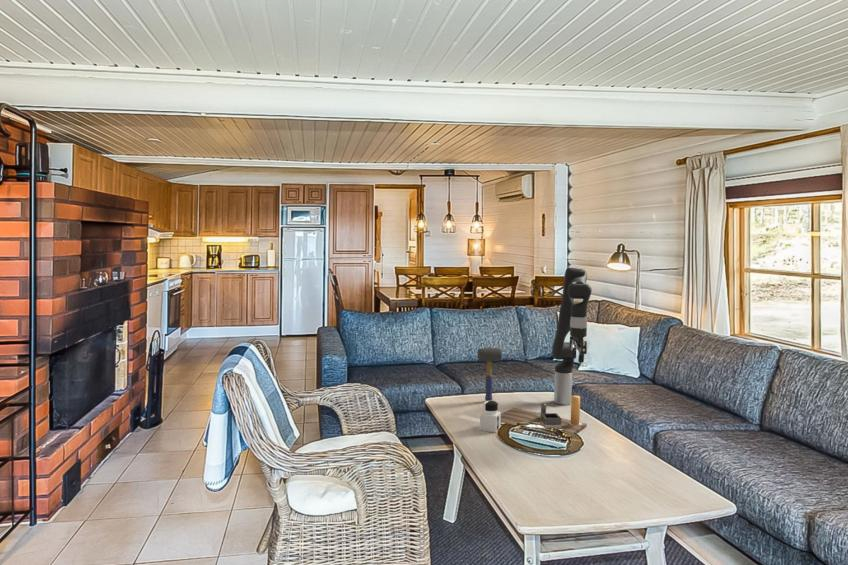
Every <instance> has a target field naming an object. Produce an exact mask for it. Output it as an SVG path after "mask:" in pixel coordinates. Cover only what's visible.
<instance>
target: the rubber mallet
mask: <svg viewBox="0 0 848 565" xmlns="http://www.w3.org/2000/svg"><path fill="white" fill-rule="evenodd" d="M502 357H503V353H502V348H500V347H482V348H478V350H477V360H478V361H479V362H486V376H485V398H484V400H485V401H493V382H494V381H493V375H492V366H493V365H492V364H493V362H500V361H501V360H502V359H503V358H502Z"/></svg>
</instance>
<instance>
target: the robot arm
mask: <svg viewBox="0 0 848 565" xmlns="http://www.w3.org/2000/svg"><path fill="white" fill-rule="evenodd" d="M563 280H564V281H563V289H562V297H561V303H560V308H559V311H558V312H559V313H558V321H557V328H556V332H555V336H554V339H553V344H552V348H551V349H552V351H551V354H552V357H553V359H554V360H559V361H561V362H560V363H558V364H556V365H555V367H554V384H553V385H554V387H553V388H554V389H553V390H554V391H553V393H554V394H553V398H554V399H553V402H554V403H555V404H558V405H563V406H564V405H565V406H567V405H571V396H573V394H572V390H573V369H574V364H575V359H577V353H578V363H580V364H581V363H584V362H585V355H587V353H588V352H587V350H588V348H587V346H588V345H587V344H588V343H587V342H588V341H587V340H584V338H586V337H587V335H588V334H587V331H588V320H587V317H588V316H587V315H588V312H587V311H588V305H589V300H590V298H591V294H592V287H591V285H590V284H588V283H587V281H588V273H587V270H585V269H583V268H579V267H567V268H566V269H565V271H564V279H563ZM576 299H577V300H582V301H581V302H578V303H576V302H575V300H576ZM568 334H569V342H567V341H565V340H566V337H567V336H568ZM577 351H578V352H577Z"/></svg>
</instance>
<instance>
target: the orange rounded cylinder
mask: <svg viewBox="0 0 848 565" xmlns="http://www.w3.org/2000/svg"><path fill="white" fill-rule="evenodd" d="M580 412H581V396H579V395H572V396H571V404H570V420H571V424H573V425H579V422H580Z"/></svg>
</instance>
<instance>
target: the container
mask: <svg viewBox="0 0 848 565" xmlns="http://www.w3.org/2000/svg"><path fill="white" fill-rule="evenodd" d="M498 407H499V402H498V401H495V400H491V401H486V400H485V401H484V402H483V411H482V412H481V413H480V415H479V417H480V418H479V430H480V431H483V432H489V433H497V432H498V430H500V428H501V425H500V424H502V422H501V414H502V412H501V411H498V410H499V409H498Z"/></svg>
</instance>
